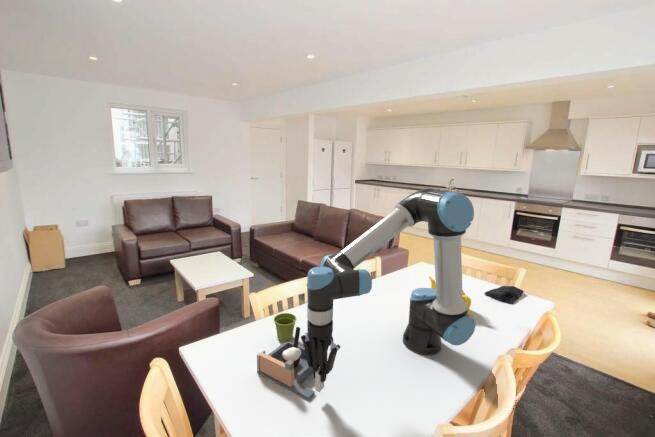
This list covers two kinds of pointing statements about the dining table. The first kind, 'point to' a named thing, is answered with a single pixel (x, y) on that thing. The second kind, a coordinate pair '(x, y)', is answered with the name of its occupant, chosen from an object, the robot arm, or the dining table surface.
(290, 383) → the cover
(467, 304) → the teapot
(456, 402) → the dining table surface
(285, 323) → the plant pot
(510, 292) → the dark slate chunk
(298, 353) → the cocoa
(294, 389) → the box
